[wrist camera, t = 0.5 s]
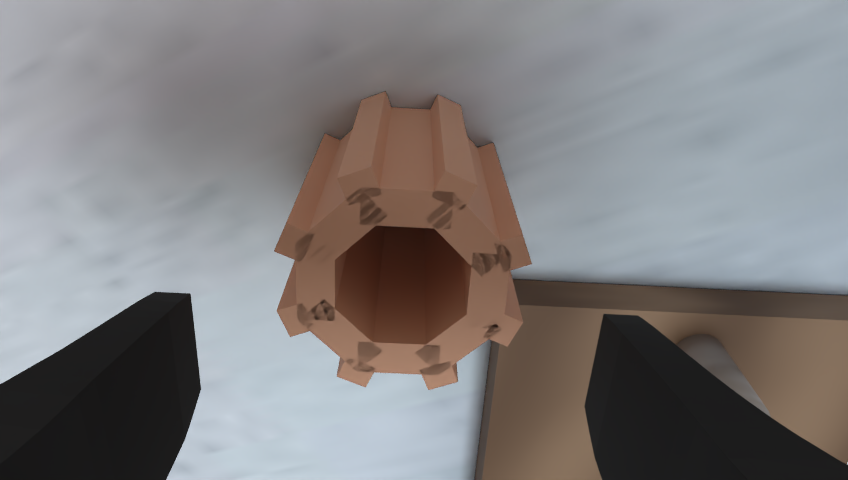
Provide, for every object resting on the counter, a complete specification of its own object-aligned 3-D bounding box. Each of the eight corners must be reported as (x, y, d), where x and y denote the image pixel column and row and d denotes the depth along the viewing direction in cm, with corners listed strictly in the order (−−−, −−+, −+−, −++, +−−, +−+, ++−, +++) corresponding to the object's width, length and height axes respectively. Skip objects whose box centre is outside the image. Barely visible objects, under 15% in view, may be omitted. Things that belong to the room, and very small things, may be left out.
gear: (507, 98, 18) (544, 176, 13) (488, 267, 21) (513, 393, 15) (314, 87, 18) (269, 161, 13) (317, 259, 20) (280, 383, 15)
